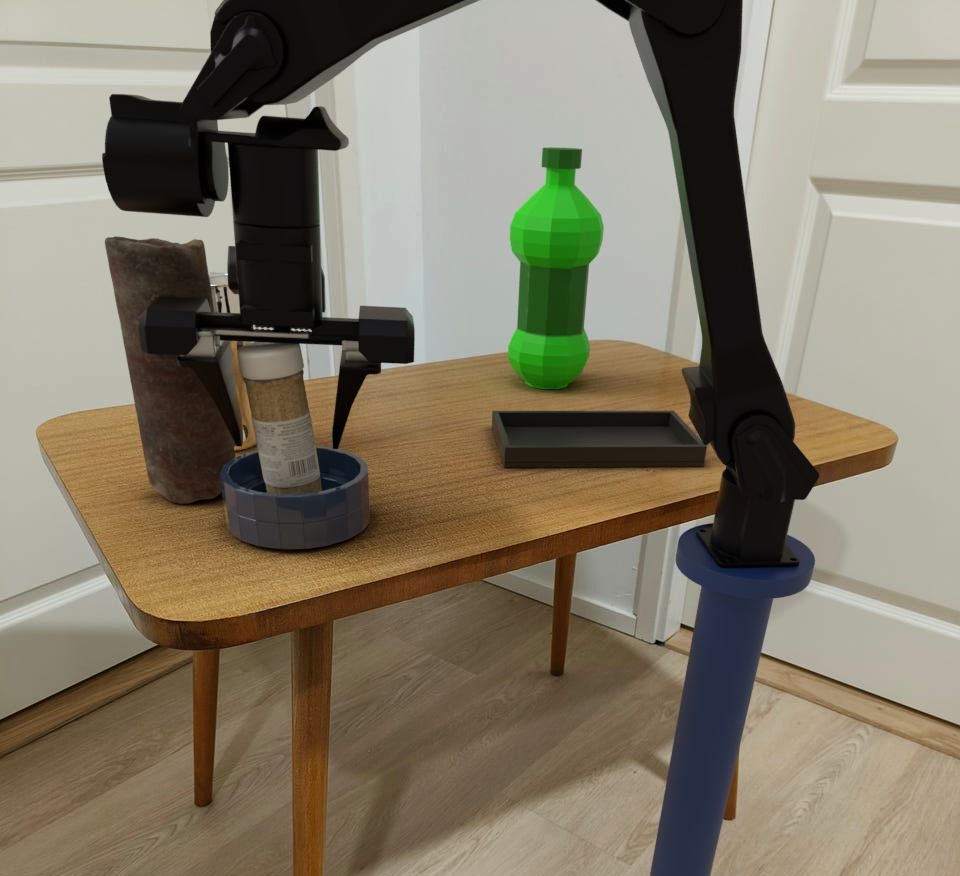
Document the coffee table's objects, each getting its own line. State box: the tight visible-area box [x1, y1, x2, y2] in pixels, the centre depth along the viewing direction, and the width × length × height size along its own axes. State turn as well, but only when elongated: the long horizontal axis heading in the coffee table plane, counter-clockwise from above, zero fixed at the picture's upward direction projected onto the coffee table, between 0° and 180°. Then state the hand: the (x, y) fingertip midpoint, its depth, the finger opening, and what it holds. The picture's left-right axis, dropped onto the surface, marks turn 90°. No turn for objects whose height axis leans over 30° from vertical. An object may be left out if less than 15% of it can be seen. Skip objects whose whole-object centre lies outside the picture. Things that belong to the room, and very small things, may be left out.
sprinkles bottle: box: [237, 342, 322, 494], centre depth 68 cm, size 5×5×14 cm
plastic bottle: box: [507, 146, 605, 390], centre depth 102 cm, size 10×10×25 cm
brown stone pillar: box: [104, 235, 236, 505], centre depth 72 cm, size 8×7×20 cm
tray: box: [491, 410, 708, 469], centre depth 88 cm, size 11×19×2 cm, turn 95°
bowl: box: [220, 445, 371, 550], centre depth 70 cm, size 11×11×4 cm
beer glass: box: [208, 271, 257, 452], centre depth 83 cm, size 7×7×15 cm
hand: (288, 446), depth 68 cm, fingers closed on sprinkles bottle, 7 cm apart
